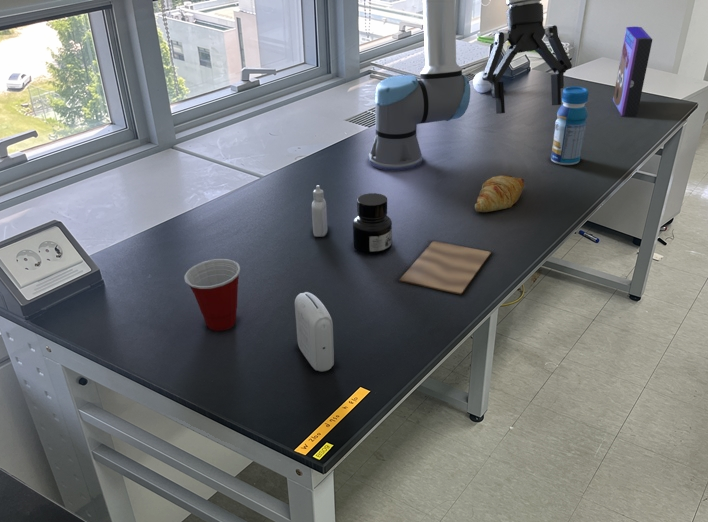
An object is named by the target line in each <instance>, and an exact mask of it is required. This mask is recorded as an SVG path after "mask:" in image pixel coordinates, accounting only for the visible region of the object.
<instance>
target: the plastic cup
mask: <svg viewBox="0 0 708 522" xmlns="http://www.w3.org/2000/svg"><path fill="white" fill-rule="evenodd" d="M240 272H241V267H240V264H239V263H238V262H237V261H234V260H233V259H229V258H213V259H209V260H204V261H202V262H199V263H197V264H195V265H193V266H192V267H190V268H189V269H188V270H186V273H185V274H184V276H183V278H184V282H185V284H187V285H188V286H189V287H190V289H191V291H192V293H193V295H194V297H195V299H196V302H197V305H198V307H199V310H200V312H201V315H202V317H203V319H204V322H205V325H206V327H207V328H208V329H210V330H212V331H215V332H221V331H227V330H229V329H231V328H232V327H234V326H235V324H236V321H237V308H238V290H239V289H238V287H239V276H240Z"/></svg>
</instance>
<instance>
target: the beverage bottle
mask: <svg viewBox="0 0 708 522" xmlns="http://www.w3.org/2000/svg"><path fill="white" fill-rule="evenodd" d="M589 93H590V92H589V89H588V88H586V87H583V86H567V87H564V88H563V91H562V94H561V105H560V107H559V108H558V110H557V113H556V117H557V119H556V120H555V122H554V134H553V142H552V149H551V153H550V160H551V162H553V163H554V164H556V165H561V166H573V165H576V164H578V163H580V162H581V156H582V155H581V154H582V151H583V150H582V149H583V145H584V139H585V138H584V137H585V133H586V128H587V118H588V115H589V114H588V109H587V107H586V105H585V104H587V102H588V99H589Z"/></svg>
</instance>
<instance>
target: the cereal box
mask: <svg viewBox="0 0 708 522" xmlns="http://www.w3.org/2000/svg"><path fill="white" fill-rule="evenodd" d="M623 38H624V39H623V43H622V49H621V53H620V59H619V65H618V71H617V76H616V81H615V86H614V92H613V96H612V97H613V98H612V102H613V104H614V106H615V107H616V110H617V111H618V113H619V115H620V117H625V118H626V117H627V118H628V117H629V118H630V117H631V118H632V117H633V118H635V117H636V118H637V117H638V112H639V107H640V103H641V97H642V92H643V88H644V83H645V77H646V74H647V70H648V69H647V68H648V63H649V60H650V59H649V58H650V54H651V49H652V44H653V38H652V37H651V36H650V35H649V34H648V32H647V31H646V30H645V29H644V28H643V27H642V26H627V27H625V33H624V37H623Z"/></svg>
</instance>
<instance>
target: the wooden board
mask: <svg viewBox="0 0 708 522" xmlns="http://www.w3.org/2000/svg"><path fill="white" fill-rule="evenodd" d="M491 254H492V251H487V250H484V249H478V248H472V247H467V246H461V245H457V244H452V243H448V242H447V243H446V242H441V241H437V240H432V242H431V243H430V244H429V245H428V247H426V248H425V249H424V251H423V252H422V253H421V254H420V255H419V257H417V259H416V260H415V261H414V262H413V264H411V266H410V267H409V268H408V269H407V270H406V272H404V273H403V275H402V276H401V277H400V278H399V279H398V280H399V282H402V283H406V284H410V285H415V286H419V287H424V288H428V289H432V290H437V291H442V292H447V293H451V294H456V295H460V296H461V295H463V293H464V292H465V290H466V288H467V287H468V286H469V285H470V283H471V282H472V281H473V280H474V278H475V276H476V275H477V274H478V272H479V270H481V268H482V267H483V265H484V264H485V262H486V261H487V260H488V258H489V257H490V255H491Z"/></svg>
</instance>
